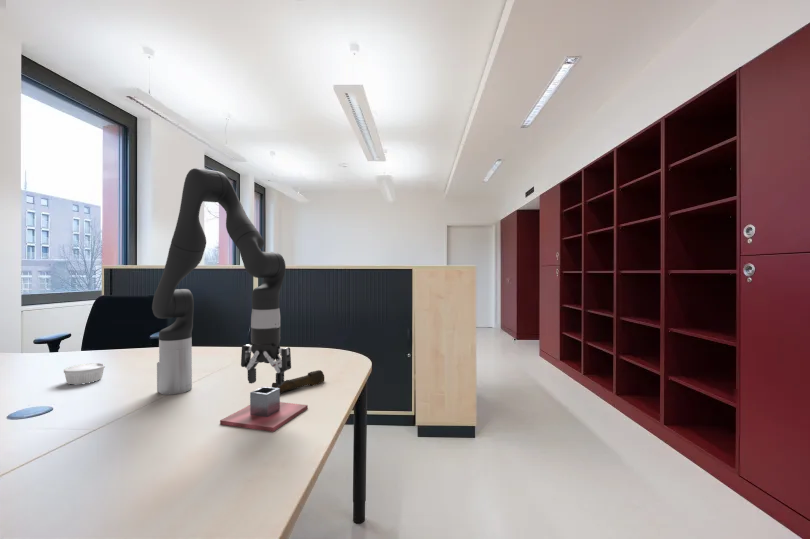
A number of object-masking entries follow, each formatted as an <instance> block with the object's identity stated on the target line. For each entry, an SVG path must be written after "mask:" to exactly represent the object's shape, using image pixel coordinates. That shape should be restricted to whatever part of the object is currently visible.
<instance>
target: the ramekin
mask: <svg viewBox="0 0 810 539" xmlns="http://www.w3.org/2000/svg"><path fill="white" fill-rule="evenodd" d="M105 367H106V365H105V364H104V363H100V362H92V363H83V364H77V365H76V364H75V365H73V366H72V365H71V366H69V367H66V368H64V369H63V374H64V376H65V381H66V383H67V384H68V385H69V384H82V383H89V382H93V381H97V380H99V379H100V380H102V378H103V375H104V370H105ZM100 380H99V381H100ZM97 382H98V381H97ZM89 384H90V383H89Z"/></svg>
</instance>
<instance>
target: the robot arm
mask: <svg viewBox="0 0 810 539" xmlns="http://www.w3.org/2000/svg"><path fill="white" fill-rule="evenodd" d="M202 203H218V204H219V205H220V206H221V207H222V208H223V209H224V211H225V214H226V218H225V228H226V231H227V234H228V236H229V238H230V240H232V242H233V244H235V246H236V248H237V249H238V251H239V255H240V258H241V261H242V263H243V267H244V269H245V271H246V272H247V273H248V274H249V275H250V276H251V277H252V278H257V279H261V278H263V280H262V283H261V285H260V286H256V287H255V288H254V289H253V290H252V293H251V296H252V297H251V315H250V316H251V317H250V342H251V344H250V343H248V344H245V345H242V346H241V356H240V358H241V359H240V366H241V367H242V368H246V370H247V381H248V384H255V383H256V382H257V368H256V367H257V366H258V364H259V363H260V364H261V363H264V364H269V365H270V366H271V367H272V368H274V370H275V383H276V387H279V386H281V385H282V384H283V383H284V381H285V372H286V371H289V370H291V369H292V359H291V358H292V357H291V347H289V346H287V347H281V346H280V342H281V311H280V293H281V290H282V286H283V282H284V279H285V274H286V261H285V259H284V257H283V255H281V253H279V252H274V251H262V249H263V247H264V244H265V241H264V238H263V236H262V235H261V233H260V232H259V231H258V229H257V228H256V227H255V225H254V224H253V222H252V221H251V220H250V218H249V216H248V215H247V213H246V211H245V209H244V207H243V205H242V203H241V201H240V199H239V197H238V194H237V192H236V190H235V188H234V186H233V184H232V183H231V181H230V179H229V178H228V176H227V175H226V174H225V173H223V172H222V171H217V170H211V169H205V168H199V167H195V168H191V169H190V170H189V171H188V172H187V174H186V176H185V178H184V183H183V187H182V194H181V199H180V207H179V212H178V216H177V220H176V225H175V229H174V232H173V235H172V239H171V241H170V244H169V249H168V254H167V258H166V262H165V264H164V265H165V266H164V269H163V273H162V274H161V277H160V280H159V282H158V285H157V288H156V290H155V292H154V294H153V299H152V304H151V309H152V313H153V314H152V315H154V317H155V318H157V319H161V320H162V319H173V318H176V319H175V321H174V322H173V323H171V325H168V326H167V327H165V328H162V329H161V330H159V332H158V356H159V357H158V358H159V359H158V362H156V392H158V393H159V394H160V395H166V396H168V395H170V396H171V395H178V394H182V393H186V392H188V391H190V390H192V388H193V378H192V377H193V365H192V364H193V351H192V350H193V344H192V339H193V338H192V332H193V328H194V308H195V307H194V306H195V305H194V304H195V301H194V296H193V293H192V292H191V290H190V289H188V288H180V289H179V288H177V287H178V285H179V284H180V283H181V281H183V280H184V278H186V277H187V276H188V275H190V273H191V272H192V271H194V269H196V268H197V267H199V264H201V262H202V259H203V257H204V253H205V249H206V245H207V236H206V234H205V231H204V228H203V226H202V224H201V222H200V211H201V207H202V205H203V204H202ZM252 354H253V355H252Z"/></svg>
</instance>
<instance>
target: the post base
mask: <svg viewBox="0 0 810 539" xmlns="http://www.w3.org/2000/svg"><path fill="white" fill-rule="evenodd" d="M308 406H309V405H308V404H301V403H291V402H283V401H280V410H279V411H277V412H275V413H274V414H272V415H270V416H269V417H263V416H255V415H250V404H249V405H247V406H245V407H244V408H241V409H239V410H237V411H236V412H233V413H231V414H230V415H228V416H226V417H223V418H222V419H220V420H219V425H223V426H230V427H237V428H243V429H251V430H252V429H253V430H259V431H266V432H272V433H274V432H275V431H276V430H278V429H279V428H281V427H283V426H284V425H286V424H287V423H289V422H291V420H293V419H294V418H296V417H298V416H299V415H301V413H303V412H305V411H307V410H308V409H309V408H308Z"/></svg>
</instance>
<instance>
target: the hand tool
mask: <svg viewBox="0 0 810 539" xmlns="http://www.w3.org/2000/svg"><path fill="white" fill-rule="evenodd" d="M323 382H325V374H324V372H323V371H322V370H319V369H318V370H314V371H310V372H307V375H303V376H300V377H296V378H291V379H286V380H284V383H283V384H282V385H281V386H279V387H276V382H272V384H271V387H273V388H280V394H282V393H284V392H285V393H286V392H288V391H291V390H295V389H299V388H303V387H307V386H310V387H312V386H313V385H314V386H316V384H317V385H319V384H321V383H323ZM314 386H313V387H314Z"/></svg>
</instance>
